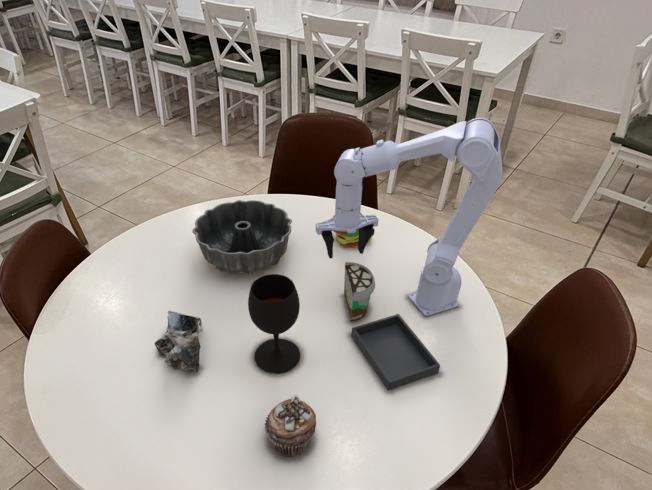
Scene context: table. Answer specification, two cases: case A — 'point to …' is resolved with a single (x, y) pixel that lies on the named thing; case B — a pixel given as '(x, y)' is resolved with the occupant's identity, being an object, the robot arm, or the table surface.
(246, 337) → the table surface
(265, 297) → the wine glass
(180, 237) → the table surface
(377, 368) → the dark gray tray
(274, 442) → the cupcake
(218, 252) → the bundt pan
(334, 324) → the table surface
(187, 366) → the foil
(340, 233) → the cheeseburger
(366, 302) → the food container
